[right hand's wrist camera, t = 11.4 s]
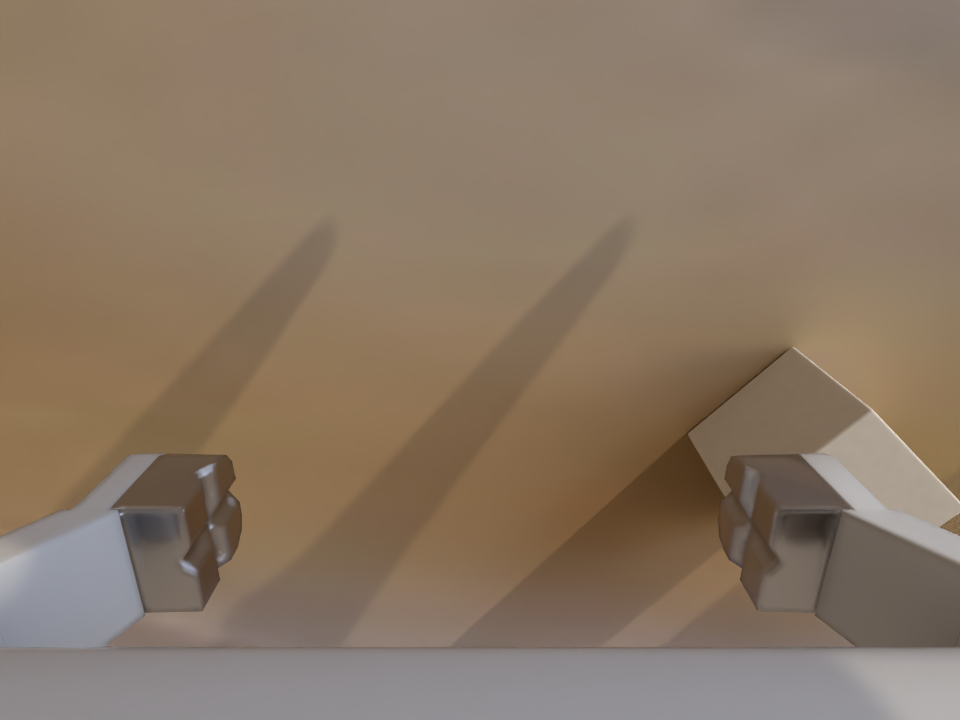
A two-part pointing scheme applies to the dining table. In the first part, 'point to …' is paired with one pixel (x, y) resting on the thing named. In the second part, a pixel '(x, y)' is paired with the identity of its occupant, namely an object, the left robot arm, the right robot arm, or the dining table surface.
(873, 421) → the block
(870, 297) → the dining table surface
